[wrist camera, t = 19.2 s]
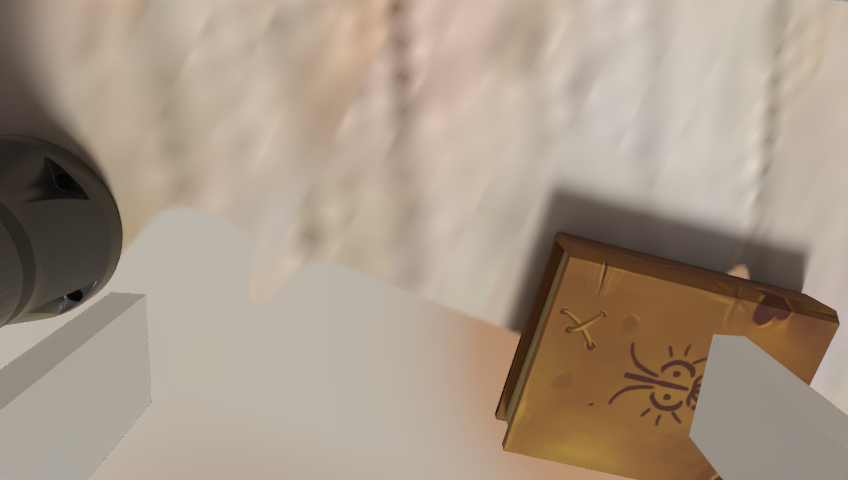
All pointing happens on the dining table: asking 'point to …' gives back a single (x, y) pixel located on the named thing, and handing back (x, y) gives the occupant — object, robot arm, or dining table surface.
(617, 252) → the diary
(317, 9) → the dining table surface
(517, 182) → the dining table surface
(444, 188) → the dining table surface
